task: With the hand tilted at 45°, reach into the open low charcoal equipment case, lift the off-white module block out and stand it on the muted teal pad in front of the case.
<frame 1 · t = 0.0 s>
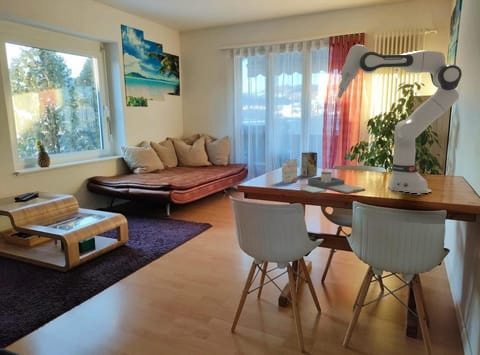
hand: (339, 97, 197), 52 cm above the table, tool tilted 20°, fingers open, 8 cm apart
ink cartridge box: (289, 182, 216), on the table
coffee box: (308, 175, 237), on the table
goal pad: (313, 190, 192), on the table
module: (326, 178, 206), in the equipment case
equipment case: (325, 184, 206), on the table
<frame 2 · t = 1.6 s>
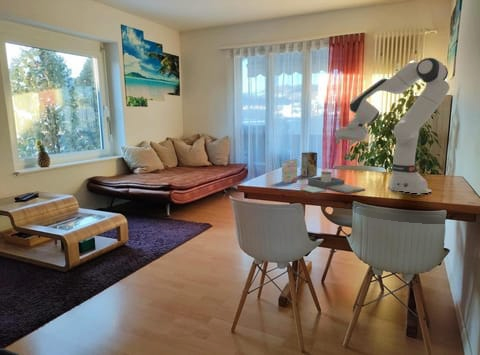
hand: (343, 144, 209), 24 cm above the table, tool tilted 45°, fingers open, 8 cm apart
nothing on the table moved.
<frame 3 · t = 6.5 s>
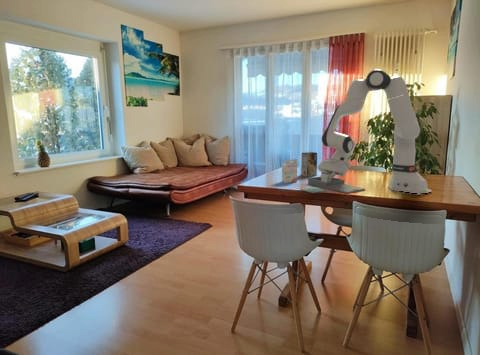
hand: (325, 177, 205), 4 cm above the table, tool tilted 45°, fingers closed on module, 4 cm apart
module: (326, 178, 206), in the equipment case, touching gripper
everything else where it was.
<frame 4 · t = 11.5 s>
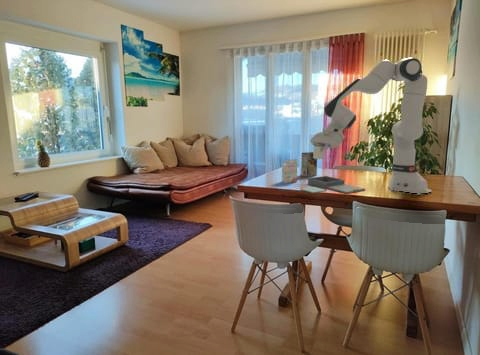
hand: (318, 150, 193), 22 cm above the table, tool tilted 45°, fingers closed on module, 4 cm apart
module: (318, 151, 193), point 22 cm above the table, touching gripper
everything else where it was.
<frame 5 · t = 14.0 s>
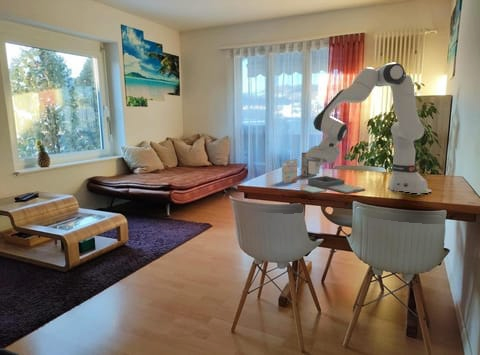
hand: (313, 165, 189), 14 cm above the table, tool tilted 45°, fingers closed on module, 4 cm apart
module: (314, 166, 189), point 14 cm above the table, touching gripper
everything else where it was.
when the fingers open (6 cm above the table, at t = 16.3 s): module stays where it is, resting on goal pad.
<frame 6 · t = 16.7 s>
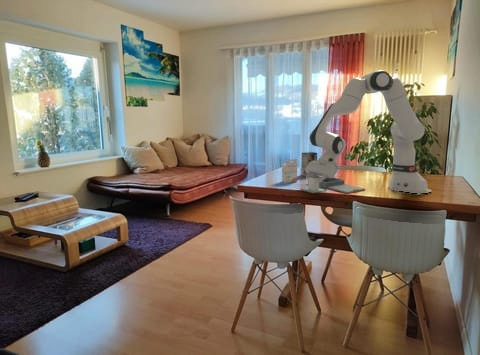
hand: (313, 180, 190), 6 cm above the table, tool tilted 45°, fingers open, 8 cm apart
module: (313, 182, 191), on the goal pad
everything else where it was.
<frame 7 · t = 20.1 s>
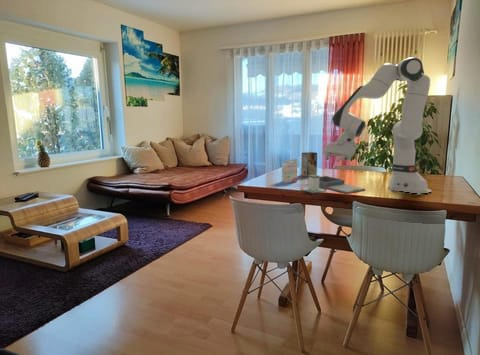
hand: (331, 160, 196), 16 cm above the table, tool tilted 45°, fingers open, 8 cm apart
nothing on the table moved.
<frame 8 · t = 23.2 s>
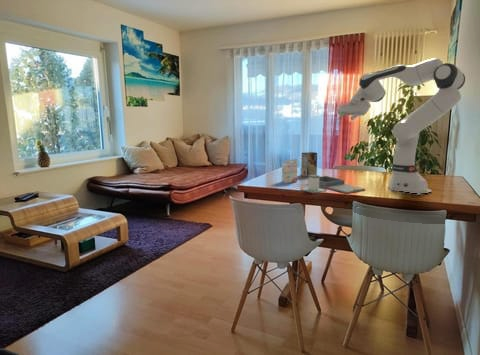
hand: (345, 119, 206), 39 cm above the table, tool tilted 45°, fingers open, 8 cm apart
nothing on the table moved.
at the end: module inside the target area (0.1 cm from its centre), point 4.5 cm above the table; module tilted 0°; module touching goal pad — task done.
